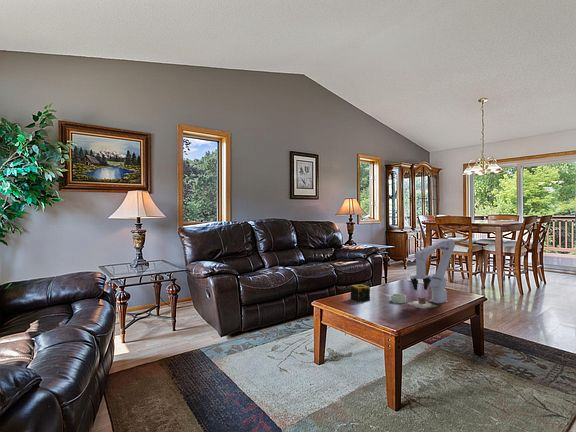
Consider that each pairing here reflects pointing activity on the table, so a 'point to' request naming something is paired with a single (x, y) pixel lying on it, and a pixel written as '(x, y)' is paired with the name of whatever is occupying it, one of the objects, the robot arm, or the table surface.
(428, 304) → the lid
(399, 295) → the bowl
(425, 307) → the mat
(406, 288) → the table surface
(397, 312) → the table surface
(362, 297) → the candle
